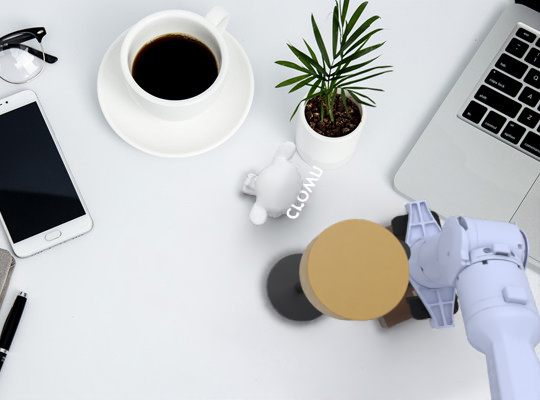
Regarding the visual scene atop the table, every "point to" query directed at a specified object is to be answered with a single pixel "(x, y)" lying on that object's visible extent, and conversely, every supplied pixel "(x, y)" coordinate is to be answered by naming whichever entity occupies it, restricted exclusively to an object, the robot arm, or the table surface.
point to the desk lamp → (342, 274)
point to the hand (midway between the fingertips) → (407, 269)
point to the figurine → (277, 187)
